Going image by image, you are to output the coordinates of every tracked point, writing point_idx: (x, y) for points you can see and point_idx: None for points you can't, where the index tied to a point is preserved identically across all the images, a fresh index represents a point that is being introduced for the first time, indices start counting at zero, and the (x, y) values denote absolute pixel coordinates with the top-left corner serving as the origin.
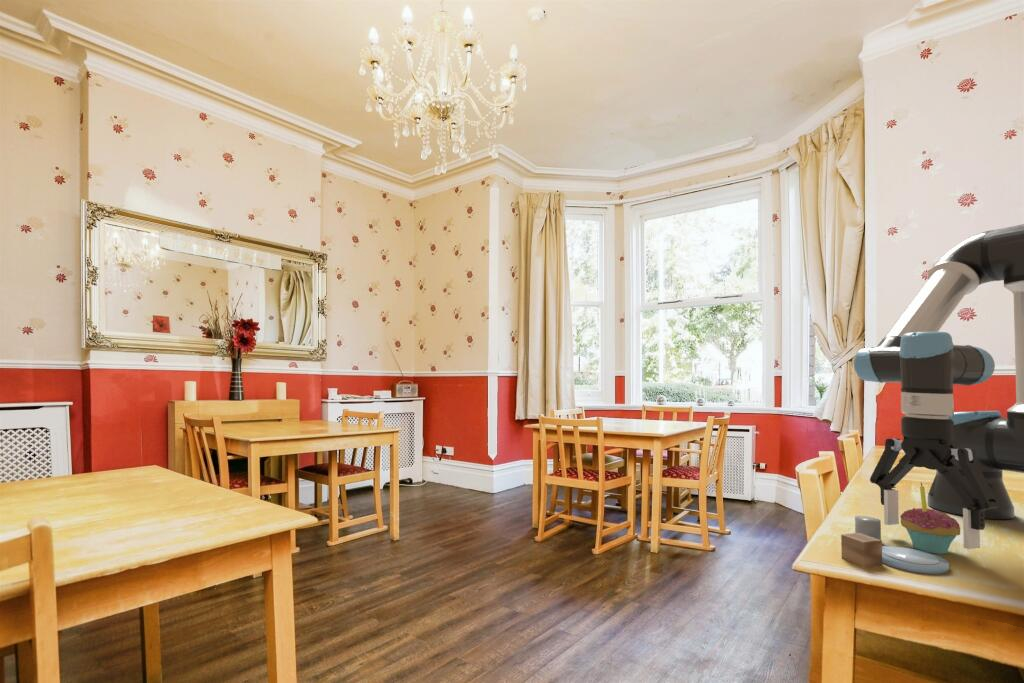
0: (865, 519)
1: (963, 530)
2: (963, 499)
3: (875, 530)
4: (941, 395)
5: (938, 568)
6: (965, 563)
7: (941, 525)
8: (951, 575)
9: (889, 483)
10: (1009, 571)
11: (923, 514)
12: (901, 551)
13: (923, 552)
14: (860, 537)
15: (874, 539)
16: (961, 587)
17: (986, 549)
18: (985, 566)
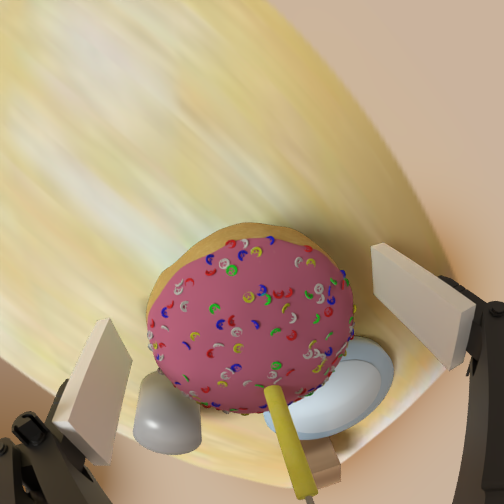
0: (175, 444)
1: (402, 322)
2: (471, 390)
3: (200, 418)
4: None
5: (391, 380)
6: (355, 273)
7: (343, 355)
8: (395, 355)
9: (101, 489)
10: (411, 205)
11: (293, 400)
12: (311, 405)
13: None
14: (318, 482)
15: (333, 470)
16: (426, 368)
17: (243, 72)
18: (379, 236)
